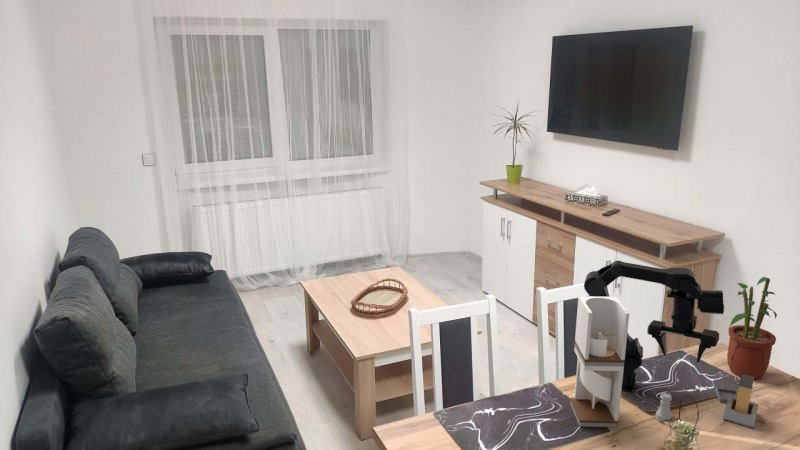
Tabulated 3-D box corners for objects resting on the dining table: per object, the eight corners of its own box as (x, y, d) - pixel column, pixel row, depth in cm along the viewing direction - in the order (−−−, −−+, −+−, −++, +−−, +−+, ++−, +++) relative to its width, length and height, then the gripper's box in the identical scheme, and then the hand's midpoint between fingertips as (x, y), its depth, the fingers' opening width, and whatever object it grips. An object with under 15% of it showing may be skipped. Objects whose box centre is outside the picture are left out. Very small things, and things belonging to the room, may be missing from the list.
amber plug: (733, 417, 163) (739, 380, 159) (735, 410, 166) (741, 373, 162) (745, 421, 161) (752, 383, 158) (747, 414, 164) (754, 377, 161)
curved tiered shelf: (570, 403, 173) (578, 296, 164) (605, 404, 172) (616, 296, 163) (579, 426, 162) (588, 312, 153) (617, 427, 161) (629, 313, 152)
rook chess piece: (671, 416, 166) (674, 391, 164) (672, 425, 162) (676, 400, 160) (654, 413, 167) (657, 389, 165) (655, 422, 163) (658, 397, 161)
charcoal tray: (719, 405, 171) (720, 399, 171) (714, 392, 178) (715, 387, 177) (741, 408, 169) (742, 402, 169) (736, 395, 176) (737, 390, 175)
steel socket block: (723, 423, 162) (725, 409, 161) (727, 409, 169) (729, 395, 168) (753, 432, 158) (755, 418, 157) (756, 417, 165) (758, 404, 164)
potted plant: (778, 383, 182) (797, 280, 173) (737, 389, 179) (754, 285, 170) (736, 357, 199) (752, 262, 189) (697, 362, 196) (711, 266, 186)
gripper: (723, 306, 170) (721, 354, 173) (657, 296, 181) (655, 341, 185) (716, 320, 161) (714, 370, 165) (647, 309, 173) (646, 356, 176)
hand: (681, 358), depth 173 cm, fingers open, 9 cm apart
